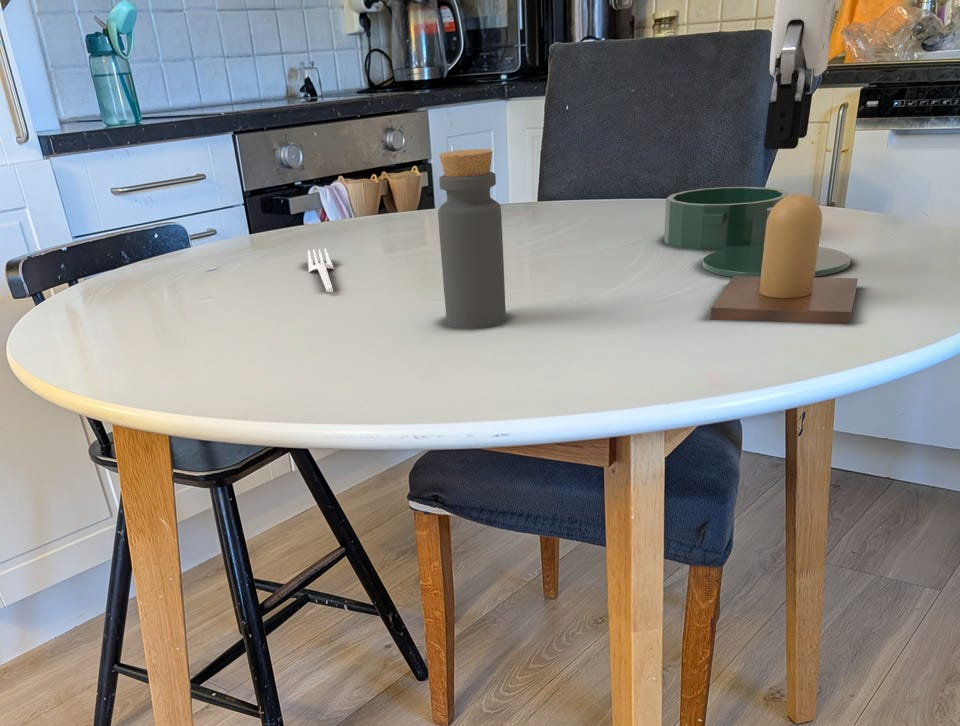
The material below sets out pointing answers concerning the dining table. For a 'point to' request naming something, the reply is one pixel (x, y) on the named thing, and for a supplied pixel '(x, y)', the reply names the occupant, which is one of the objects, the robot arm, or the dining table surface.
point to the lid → (751, 258)
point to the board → (786, 302)
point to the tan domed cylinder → (791, 247)
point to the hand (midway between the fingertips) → (785, 142)
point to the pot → (719, 217)
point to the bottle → (471, 241)
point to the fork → (321, 268)
